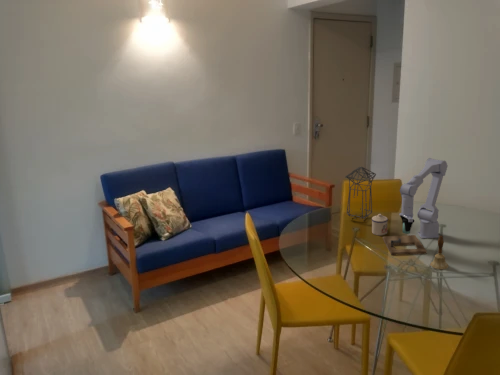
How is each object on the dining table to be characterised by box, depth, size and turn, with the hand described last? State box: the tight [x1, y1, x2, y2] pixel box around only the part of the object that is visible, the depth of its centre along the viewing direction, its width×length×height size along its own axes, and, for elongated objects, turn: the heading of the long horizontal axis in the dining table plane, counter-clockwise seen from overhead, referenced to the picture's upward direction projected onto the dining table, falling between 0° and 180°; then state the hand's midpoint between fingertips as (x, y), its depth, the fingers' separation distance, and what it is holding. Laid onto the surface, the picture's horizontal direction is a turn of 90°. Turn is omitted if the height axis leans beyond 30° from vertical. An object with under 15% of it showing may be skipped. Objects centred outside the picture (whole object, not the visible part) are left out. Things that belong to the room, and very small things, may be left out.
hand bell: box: [429, 235, 449, 270], centre depth 210 cm, size 8×8×16 cm
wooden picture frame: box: [382, 234, 427, 256], centre depth 235 cm, size 18×20×2 cm
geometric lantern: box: [345, 166, 377, 220], centre depth 269 cm, size 16×16×35 cm
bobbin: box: [401, 223, 411, 235], centre depth 232 cm, size 4×4×5 cm
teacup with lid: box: [371, 213, 389, 236], centre depth 253 cm, size 12×9×12 cm
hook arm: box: [391, 238, 401, 247], centre depth 232 cm, size 5×1×6 cm, turn 86°
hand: (406, 229), depth 232 cm, fingers closed on bobbin, 4 cm apart
